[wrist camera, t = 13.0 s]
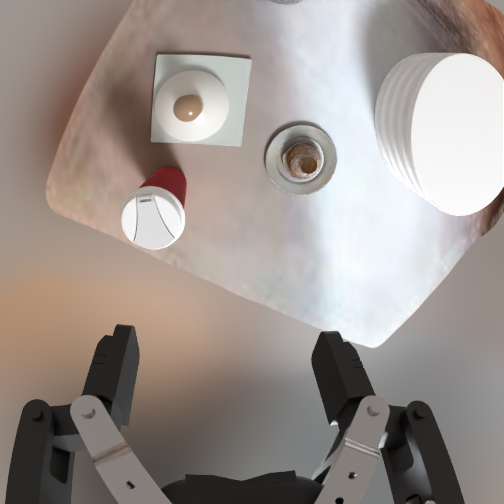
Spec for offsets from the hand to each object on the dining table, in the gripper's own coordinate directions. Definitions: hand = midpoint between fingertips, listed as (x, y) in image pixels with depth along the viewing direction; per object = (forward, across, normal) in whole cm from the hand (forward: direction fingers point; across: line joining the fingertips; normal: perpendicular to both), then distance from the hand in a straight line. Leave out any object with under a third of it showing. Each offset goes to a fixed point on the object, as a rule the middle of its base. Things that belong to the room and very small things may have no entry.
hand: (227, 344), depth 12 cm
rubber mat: (+38, +4, -8) cm, 39 cm away
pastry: (+39, -13, 0) cm, 41 cm away
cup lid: (+38, +5, -7) cm, 38 cm away
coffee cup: (+38, +8, +6) cm, 40 cm away
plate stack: (+38, -38, -12) cm, 56 cm away
